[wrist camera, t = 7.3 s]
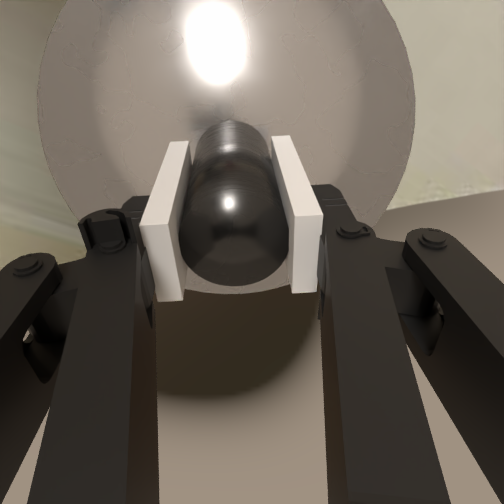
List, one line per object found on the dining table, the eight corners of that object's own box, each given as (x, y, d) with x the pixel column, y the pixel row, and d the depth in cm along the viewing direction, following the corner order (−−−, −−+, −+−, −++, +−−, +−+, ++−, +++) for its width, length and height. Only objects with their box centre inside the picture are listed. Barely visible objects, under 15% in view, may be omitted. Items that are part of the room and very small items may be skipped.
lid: (-3, -65, 14) (-285, -130, 6) (430, -84, 14) (665, -166, 7) (110, 275, 24) (54, 415, 16) (368, 259, 24) (435, 388, 16)
